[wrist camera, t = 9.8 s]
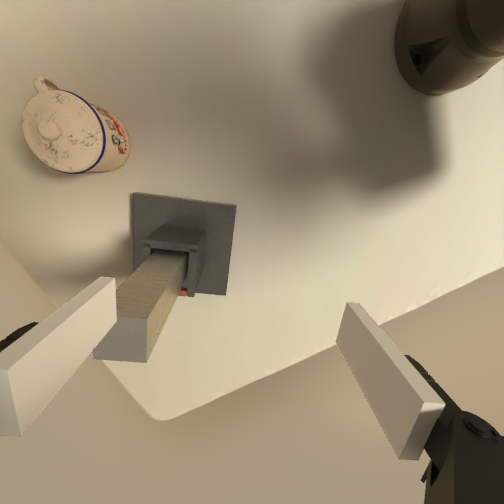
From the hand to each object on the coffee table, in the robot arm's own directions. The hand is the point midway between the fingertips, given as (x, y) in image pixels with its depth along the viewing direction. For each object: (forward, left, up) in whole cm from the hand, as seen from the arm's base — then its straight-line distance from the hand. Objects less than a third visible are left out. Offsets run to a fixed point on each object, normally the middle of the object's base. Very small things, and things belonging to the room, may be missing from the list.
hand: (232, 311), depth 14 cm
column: (+6, -8, -22) cm, 24 cm away
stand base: (+6, -8, -30) cm, 31 cm away
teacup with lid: (-10, -22, -30) cm, 39 cm away
